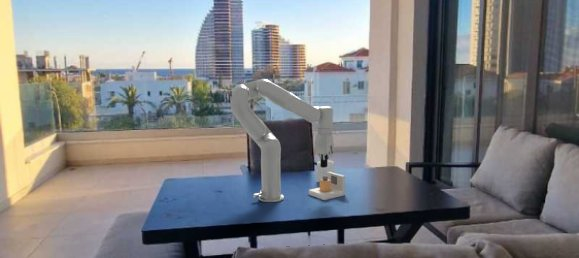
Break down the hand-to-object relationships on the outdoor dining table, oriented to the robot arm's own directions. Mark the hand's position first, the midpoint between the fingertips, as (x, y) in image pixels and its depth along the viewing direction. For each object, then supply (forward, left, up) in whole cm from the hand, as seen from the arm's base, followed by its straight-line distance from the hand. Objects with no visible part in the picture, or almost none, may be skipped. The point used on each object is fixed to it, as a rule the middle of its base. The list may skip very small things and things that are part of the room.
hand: (323, 167), depth 223 cm
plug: (+1, 0, -15) cm, 15 cm away
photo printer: (+18, +20, -15) cm, 30 cm away
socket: (+1, 0, -15) cm, 15 cm away
